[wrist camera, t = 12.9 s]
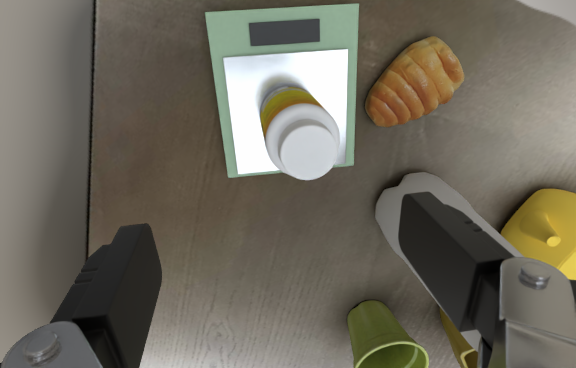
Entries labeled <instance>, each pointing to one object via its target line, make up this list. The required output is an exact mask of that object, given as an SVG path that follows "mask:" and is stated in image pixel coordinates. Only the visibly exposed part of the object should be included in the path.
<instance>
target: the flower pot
mask: <svg viewBox="0 0 576 368" xmlns="http://www.w3.org/2000/svg"><path fill="white" fill-rule="evenodd" d="M440 318H441V321H442V324H443V327H444V329H445V331H446V334H447V336H448V339H449V341H450V344H451V347H452V349H453V352H454V354H455V357H456V359H457V361H458V363H459V364H460V366H461V368H477V359H478V352H477V351H476V350H475V349H474V348H473V347H472V346H471V345H470V344H469V343H468V342H467V341H466V339H465V338H464V337H463V336H462V334H461V333H460V332H459V331H458V330H457V328H456V327H455V325H454V324H453V323H452V321H451V320H450V319H449V317H448V316H447V315H446V314H445V312H444V311H443V310H442V308H441V307H440Z"/></svg>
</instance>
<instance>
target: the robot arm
mask: <svg viewBox="0 0 576 368" xmlns="http://www.w3.org/2000/svg"><path fill="white" fill-rule="evenodd" d="M398 240H399V245H400V248H401V251H402V253H403V254H404V255H405V257H406V258H407V260H408V261H409V262H410V264H411V265H412V267H413V268H414V269H415V271H416V272H417V274H418V275H419V276H420V278H421V279H422V281H423V282H424V283H425V285H426V286H427V288H428V289H429V290H430V292H431V293H432V295H433V296H434V297H435V299H436V300H437V302H438V303H439V304H440V306H441V307H442V309H443V310H444V311H445V313H446V314H447V316H448V317H449V318H450V320H451V321H452V323H453V324H454V325H455V327H456V328H457V330H458V331H459V332H465V331H471V330H478V332H479V333H480V334H481V337H480V341H479V346H478V359H477V368H576V280H571V279H568V278H567V277H566V276H565V275H564V274H563V273H562V272H561V271H560V270H558V269H557V268H555V267H553V266H551V265H550V264H547V263H545V262H542V261H540V260H536V259H533V258H527V257H515V256H514V255H513V254H511V253H510V252H509V251H508V250H507V249H505V248H504V247H503V246H502V245H501V244H500V243H498V242H497V241H496V240H495V239H494V238H493V237H491V236H490V235H489V234H488V233H487V232H486V231H483V230H482V228H481V227H480V226H479V225H477V224H476V223H473V220H472V219H470V218H469V217H468V216H467V215H466V214H465V213H463V212H462V211H460V210H458V209H456V208H454V207H452V206H449V205H447V204H443V203H442V202H441V201H440V200H439V199H438V198H436V197H435V196H434V195H433V194H432V193H431V192H429V191H426V192H417V193H409V194H405V195H404V196H403V198H402V204H401V213H400V222H399V231H398ZM161 282H162V270H161V264H160V260H159V256H158V252H157V249H156V245H155V241H154V238H153V234H152V230H151V228H150V226H149V224H147V223H146V224H137V225H129V226H121V227H120V228H119V230H118V232H117V234H116V235H115V237H114V239H113V241H112V243H111V244H109V245H103V246H102V247H100V248H99V249H98V250H97V251H96V252H95V253H93V254H92V255H91V256H90V257H89V258H88V260H87V261H86V263H85V265H84V266H83V268H82V270H81V273H79V275H78V276H77V278H76V280H75V284H73V285H72V287H71V288H70V290H69V292H68V293H67V295H66V297H65V299H64V300H63V302H62V303H61V305H60V307H59V309H58V310H57V312H56V314H55V315H54V317H53V319H52V320H51V322H50V324H47V325H44V326H42V327H40V328H37V329H35V330H34V331H32V332H30V333H28V334H27V335H25V336H24V337H23V338H21V339H20V340H19V341H18V342H16V343H15V344H14V345H13V347H12V348H11V349H10V350H9V351H8V352H7V354H6V356H5V357H4V359H3V361H2V363H0V368H139V366H140V362H141V359H142V355H143V351H144V347H145V343H146V340H147V336H148V332H149V328H150V325H151V321H152V317H153V313H154V310H155V306H156V302H157V298H158V295H159V291H160V287H161Z"/></svg>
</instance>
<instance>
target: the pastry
mask: <svg viewBox="0 0 576 368" xmlns="http://www.w3.org/2000/svg"><path fill="white" fill-rule="evenodd" d="M463 81H464V73H463V70H462V67H461V65H460V62H459V60H458V58H457V57H456V56H455V55H454V54H453V53H452V50H451V49H450V48H449V47H448V46H447V45H446V44H445V43H444V42H443V41H442V40H440V39H439V38H437V37H435V36H432V37H428V38H426V39H423V40H421V41H418V42H415V43H413V44H411V45H410V46H408V47H407V48H406V49H405V50H404V51H402V52H401V53H400V54H399V55H398V56H397V58H396V59H395V60H394V61H393V62H392V63H391V64H390V65H389V66H388V67H387V69H386V70H385V71H384V72H383V74H382V75H381V76H380V78H379V79H378V80H377V81H376V83H375V84H374V85H373V87H372V88H371V89H370V91H369V94H368V96H367V99H366V102H365V110H366V112H367V114H368V116H369V117H370V118H371V119H372V120H373V122H374V123H375V124H376V125H377V126H382V127H391V126H393V125H397V124H405V123H406V122H408V121H409V120H415V119H418V118H420V117H421V116H422V115H427V114H429V113H430V112H432V111H433V110H435V109H436V108H437V106H438V104H445V103H447V102H448V101H449V100H450V99H451V98H452V96H453V92H454V91H455V90H457V89H458V88H459V86H460V85H461V83H462V82H463Z"/></svg>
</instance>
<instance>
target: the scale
mask: <svg viewBox="0 0 576 368" xmlns="http://www.w3.org/2000/svg"><path fill="white" fill-rule="evenodd" d="M358 15H359V3H356V4H339V5H321V6H304V7H286V8H269V9H251V10H234V11H216V12H205V18H206V25H207V32H208V39H209V46H210V53H211V60H212V67H213V74H214V81H215V88H216V95H217V102H218V109H219V116H220V123H221V130H222V137H223V145H224V152H225V159H226V166H227V173H228V178H232V177H242V176H252V175H262V174H272V173H282V171H281V170H279V169H278V168H277V167H276V166H275V165H274V164H273V163H272V161H271V160H270V158H269V156H268V153H267V150H266V146H265V141H264V137H263V132H262V128H261V123H260V112H261V108H262V105H263V103H264V101H265V99H266V98H267V97H268V96H269V95H270V94H271V93H272V92H273V91H275V90H277V89H279V88H281V87H286V86H295V87H300V88H302V89H305V90H306V91H308V92H309V93H310V94H311V95H312V96H313V97H314V98H315V99H316V100H317V101H318V102H319V103H320V104H321V105H322V106H323V107H324V108H325V109H326V110H327V111H328V112H329V113H330V115H331V116H332V117H333V118H334V120H335V121H336V123H337V125H338V128H339V132H340V144H339V149H338V153H337V158H336V161H335V163H334V165H333V166H332V167H342V166H352V165H354V138H355V107H356V76H357V46H358Z"/></svg>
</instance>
